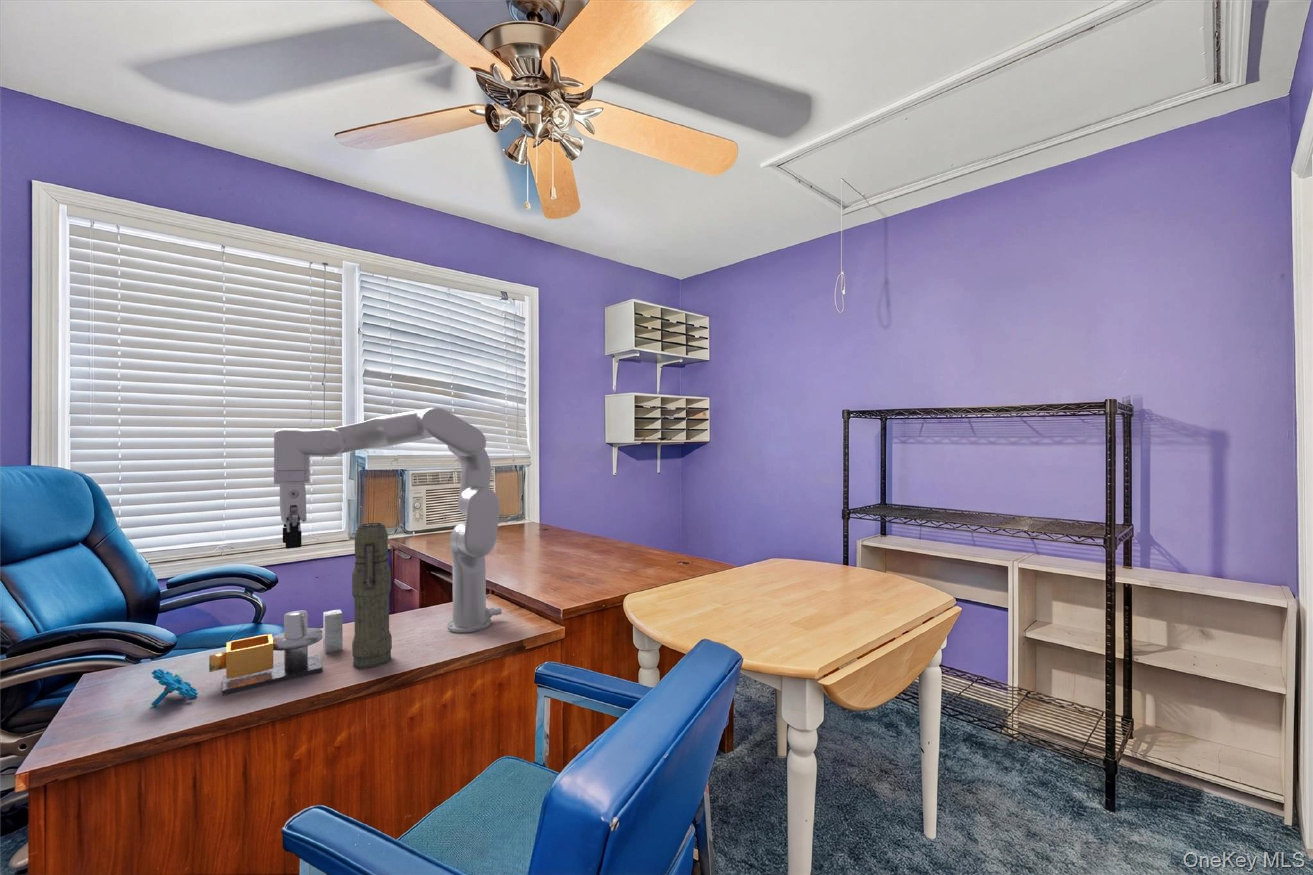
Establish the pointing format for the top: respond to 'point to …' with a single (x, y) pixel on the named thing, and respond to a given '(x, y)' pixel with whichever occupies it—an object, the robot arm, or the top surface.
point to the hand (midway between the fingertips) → (291, 545)
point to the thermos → (371, 597)
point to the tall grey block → (332, 631)
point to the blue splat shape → (172, 685)
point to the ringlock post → (269, 656)
